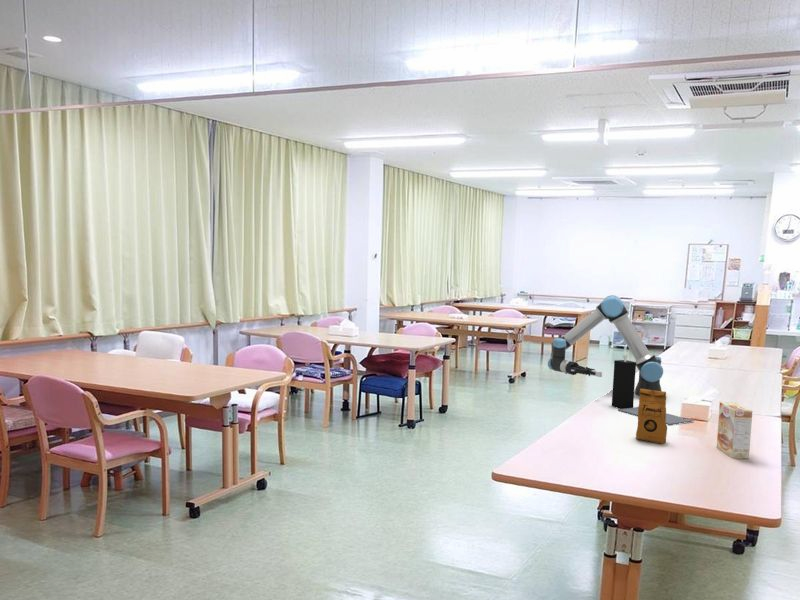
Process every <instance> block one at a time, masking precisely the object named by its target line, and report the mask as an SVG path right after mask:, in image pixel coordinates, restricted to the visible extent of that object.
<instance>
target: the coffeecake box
mask: <svg viewBox="0 0 800 600" xmlns="http://www.w3.org/2000/svg"><path fill="white" fill-rule="evenodd" d="M752 421H753V410H751V409H749V408H747V407H745V406H743V405H741V404H739V403H737V402H728V401H719V410H718V423H717V424H718V425H717V436H716V437H717V439H716V448H717V449H719V450H720V451H721V452H722V453H724V454H726V456H728V457H730V458H731V459H742V458H749V459H750V448H751V433H752Z"/></svg>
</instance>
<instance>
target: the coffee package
mask: <svg viewBox="0 0 800 600" xmlns="http://www.w3.org/2000/svg"><path fill="white" fill-rule="evenodd" d="M639 393H640V395H638V396H639V397H638V400H639V401H638V406H637V407H638V416H637V428H636V433H635V438H636V440H641V441H645V442H651V443H654V444H656V443H657V444H661V445H663V444H664V443H666V441H667V433H668V432H667V431H668V425H666V413H667V407H666V404H667V392H666V391H654V390H647V389H640V392H639Z"/></svg>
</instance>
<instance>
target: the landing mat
mask: <svg viewBox="0 0 800 600" xmlns="http://www.w3.org/2000/svg"><path fill="white" fill-rule="evenodd" d="M638 407H639V406H637V407H635V406H634V407H633V408H626V409H619V408H617V411H618V412H620V411H621V412H620V413H624V414H627V413H628V415H632V416H634V415H635V417H638ZM683 418H684V417H683ZM683 418H681V416H679V415H674V414H671V413H667V412H666V424H668V425H667V426H674V425H673V424H676V425H680V424H679V423H684V422H691V421H694V422H695V420H693V419H689V418H686V419H683ZM691 423H692V422H691ZM684 424H685V423H684Z"/></svg>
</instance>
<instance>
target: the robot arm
mask: <svg viewBox="0 0 800 600" xmlns="http://www.w3.org/2000/svg"><path fill="white" fill-rule="evenodd" d="M600 302H601V303H599V304H598V305H597V306H596V307H595V310H594V311H593V312H591V313H590V314H589V315H587V316H586V317H585V318H584V319H582V320H581V321H580V322H579V323H577V324H576V325H575V326H574V327H573V328H571V329H570V330H569V331H568V332H566V333H564V335H562V336H561V337H560V338H559V337H556V338H553V340H552V354H551V357H550V358H549V359H548V361H547V366H548V369H549V370H551V371H554V372H560V373H564V374H565V375H567V374H568V375H572V376H575V375H577V374H580V375H585V376H587V375H588V377H591V376H594V377H599V378H602V377H603V372H602V371H598V370H596V369H595V368H592V367H591V368H590V367H588V366H582V365H580V364H579V363H578V362H576V361H571V360H568V359H566V350H568V349H569V348H570V347H571V346H573V345H574V344H575V343H576V342H578V341H579V340H580V339H582V337H584V336H585V335H586V334H588V333H589V332H591V330H593V329H594V328H596V326H598V325H599V324H601V323H602V322H603V321H605V320H608V321H609V323H611V324H613V325H614V326H615V328H616V330H617V331H618V333H619V334H620V337H622V340H624V343H625V345H626V346H627V347H628V349H629V351H630V353H631V354H632V356H633V358H634V359H635V362H636V368H637V370H638V381H637V383H636V385H635V388H634V395H637V396H640V393H639V392H640V389H647V390H654V391H662V386H661V383H660V382H661V378H662V377H663V375H664V369H663V366H662V358H661V357H660V356H656V355H655V353H651V352H650V351H649V349H648V348H647V346H646V344H645V342H644V341H643V339H642V338H641V336H640V334H639V333H638V331H637V329H636V328H635V326H634V325H633V323H632V321H631V320H630V318H629V311H628V309H627V308H626V306H625V305H624V303H623V301H622V299H621V297H619V296H617V295H613V294H612V295H608V296H606V297H604V299H603V300H602V301H600Z"/></svg>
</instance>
